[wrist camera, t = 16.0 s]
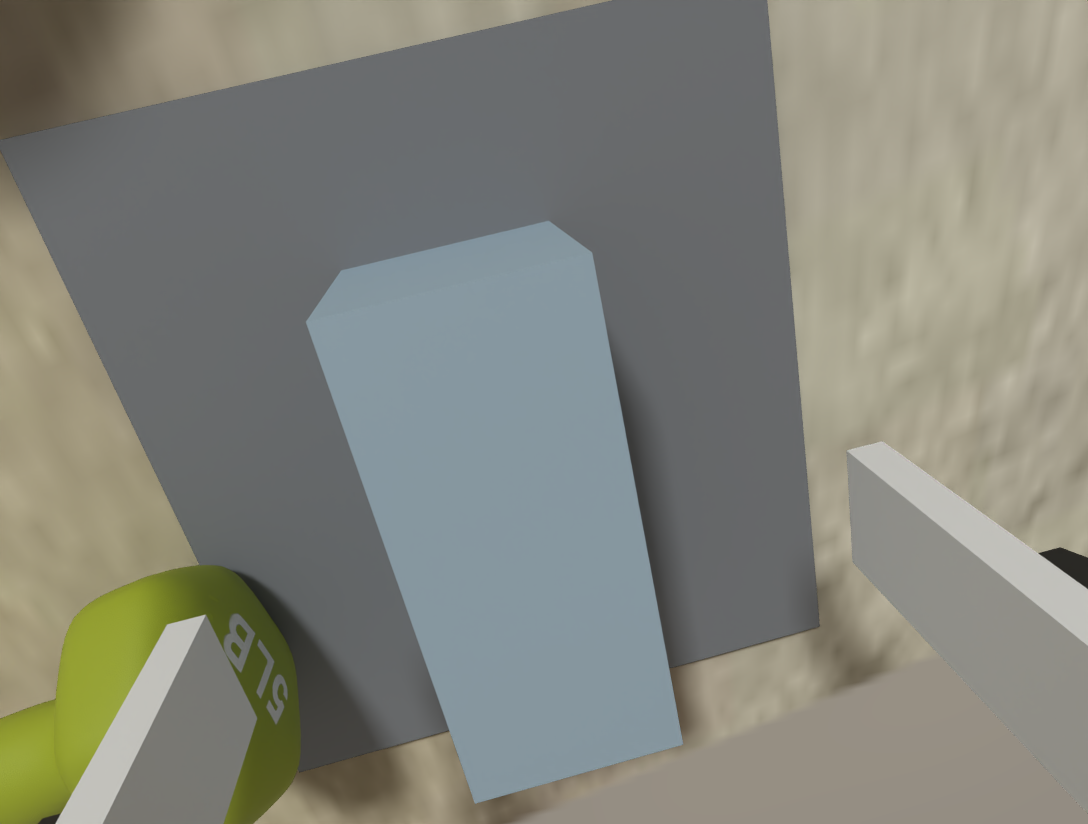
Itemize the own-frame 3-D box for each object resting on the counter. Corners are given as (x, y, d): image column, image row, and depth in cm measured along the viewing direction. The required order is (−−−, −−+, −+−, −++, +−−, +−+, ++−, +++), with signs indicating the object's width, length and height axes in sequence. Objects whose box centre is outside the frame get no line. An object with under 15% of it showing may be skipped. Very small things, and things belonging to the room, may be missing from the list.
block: (475, 803, 20) (305, 322, 14) (465, 657, 25) (340, 270, 20) (683, 744, 20) (592, 252, 15) (629, 612, 26) (548, 220, 20)
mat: (757, -31, 19) (764, -35, 19) (814, 619, 28) (819, 626, 27) (4, 140, 18) (-5, 141, 18) (301, 763, 26) (299, 772, 26)
